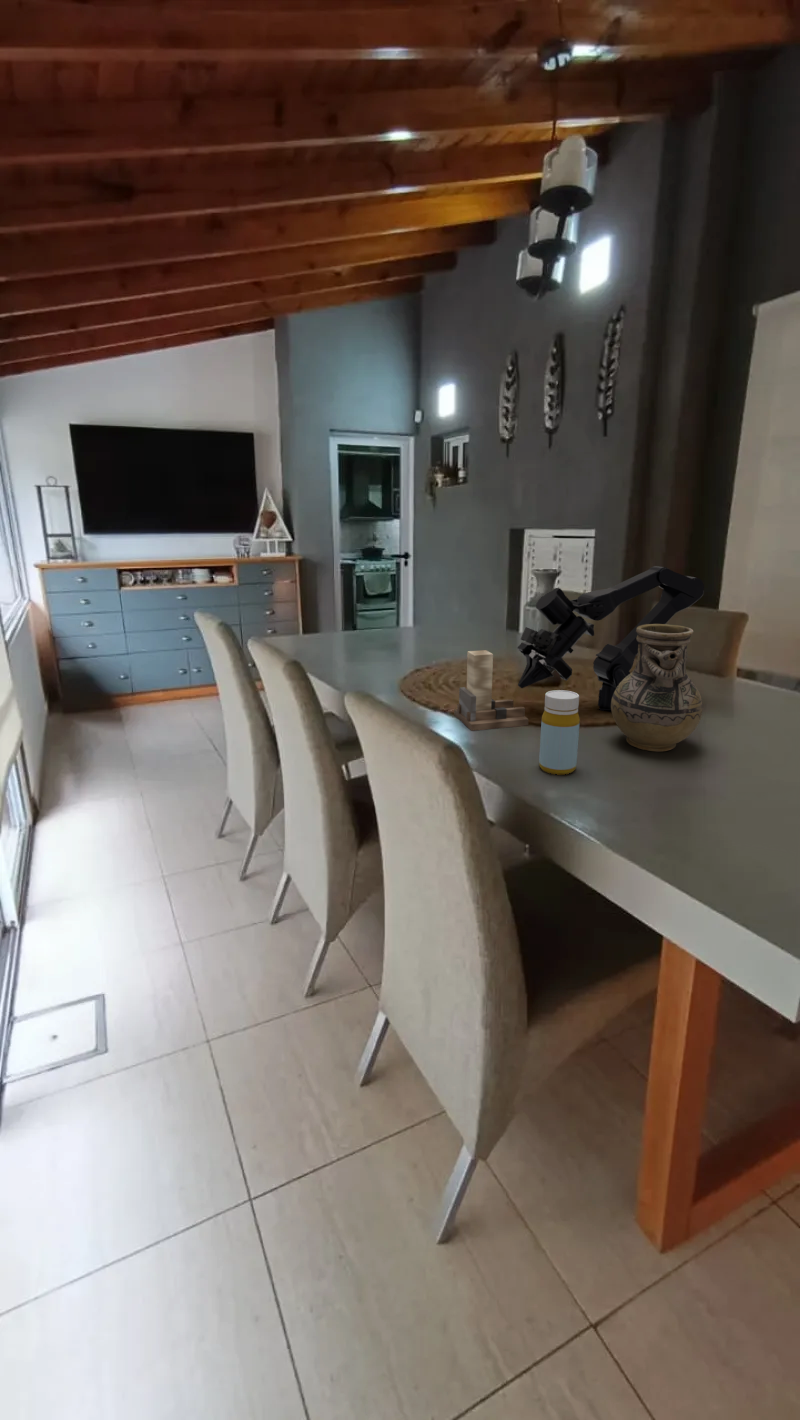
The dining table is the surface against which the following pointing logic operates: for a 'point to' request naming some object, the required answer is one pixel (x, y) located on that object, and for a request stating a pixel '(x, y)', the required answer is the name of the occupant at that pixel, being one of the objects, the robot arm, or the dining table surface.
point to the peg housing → (488, 713)
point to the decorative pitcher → (658, 691)
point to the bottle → (559, 732)
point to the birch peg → (480, 677)
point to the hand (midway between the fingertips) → (519, 686)
